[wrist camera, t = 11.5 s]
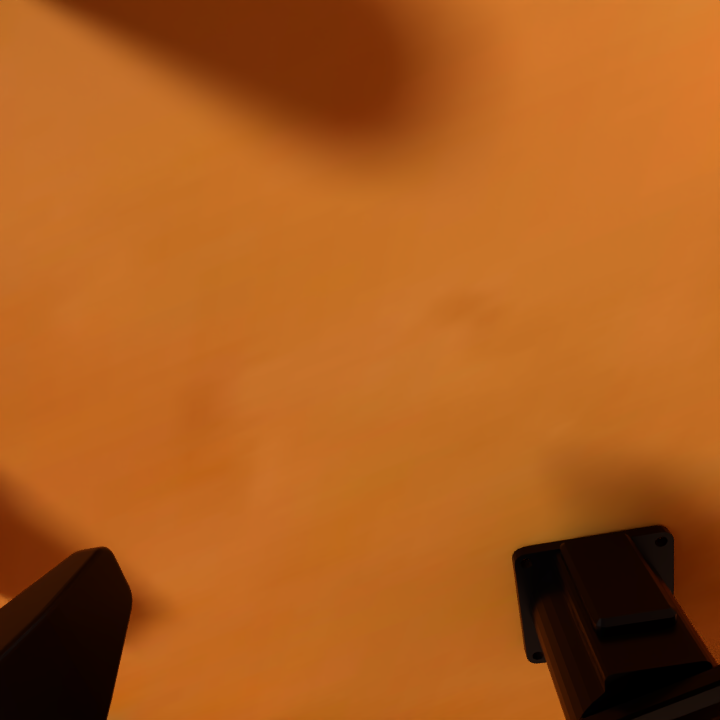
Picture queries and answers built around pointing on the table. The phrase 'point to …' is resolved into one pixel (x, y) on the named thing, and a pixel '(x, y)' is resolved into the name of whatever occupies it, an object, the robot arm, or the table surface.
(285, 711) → the table surface
